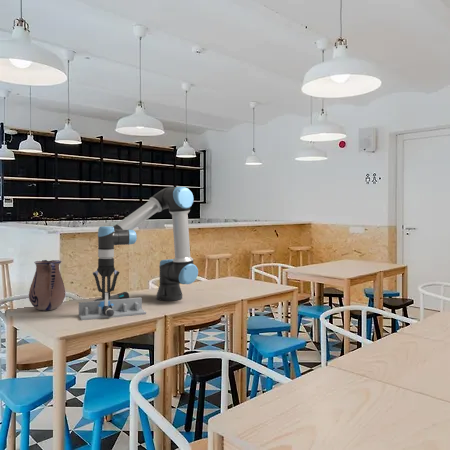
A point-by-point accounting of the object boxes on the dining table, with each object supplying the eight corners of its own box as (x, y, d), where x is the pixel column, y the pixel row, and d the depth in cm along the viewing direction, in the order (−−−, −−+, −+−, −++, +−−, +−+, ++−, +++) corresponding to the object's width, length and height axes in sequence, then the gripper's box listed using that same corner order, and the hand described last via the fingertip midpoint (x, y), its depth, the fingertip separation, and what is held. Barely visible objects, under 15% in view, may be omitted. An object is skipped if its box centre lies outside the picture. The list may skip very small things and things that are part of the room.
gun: (132, 304, 242) (126, 288, 240) (97, 320, 234) (90, 303, 232) (130, 303, 246) (124, 286, 244) (96, 318, 238) (89, 301, 236)
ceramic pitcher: (56, 303, 244) (56, 258, 243) (74, 310, 229) (74, 261, 228) (23, 308, 232) (23, 260, 231) (40, 315, 217) (39, 264, 216)
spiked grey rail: (141, 309, 232) (141, 297, 231) (146, 314, 223) (146, 301, 222) (78, 315, 218) (78, 302, 218) (81, 320, 209) (81, 306, 209)
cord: (101, 311, 221) (103, 304, 221) (108, 312, 222) (110, 305, 223) (105, 316, 212) (107, 308, 212) (112, 317, 213) (114, 310, 213)
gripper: (117, 256, 225) (117, 302, 226) (91, 257, 219) (91, 305, 220) (121, 258, 218) (121, 306, 219) (93, 259, 212) (93, 308, 213)
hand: (106, 305), depth 219 cm, fingers closed
